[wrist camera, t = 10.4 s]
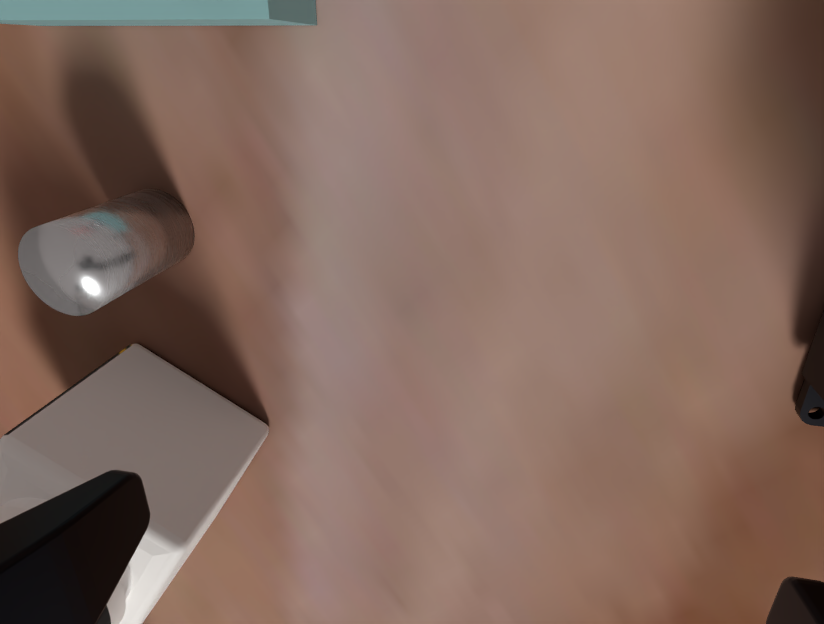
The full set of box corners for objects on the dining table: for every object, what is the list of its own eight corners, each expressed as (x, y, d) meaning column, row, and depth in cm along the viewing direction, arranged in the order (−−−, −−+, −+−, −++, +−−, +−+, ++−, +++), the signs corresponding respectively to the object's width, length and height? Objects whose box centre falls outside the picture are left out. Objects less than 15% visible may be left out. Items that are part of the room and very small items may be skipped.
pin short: (187, 190, 21) (92, 228, 16) (199, 266, 22) (114, 319, 18) (116, 186, 21) (5, 221, 17) (132, 260, 23) (34, 311, 18)
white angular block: (135, 337, 24) (-180, 559, 14) (274, 424, 25) (76, 705, 14) (93, 439, 27) (-187, 684, 17) (217, 514, 28) (21, 799, 17)
